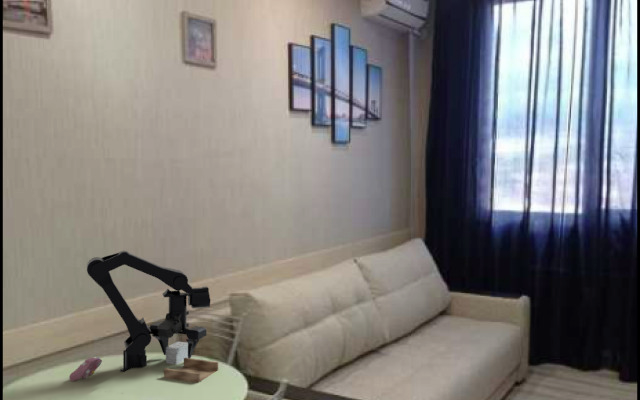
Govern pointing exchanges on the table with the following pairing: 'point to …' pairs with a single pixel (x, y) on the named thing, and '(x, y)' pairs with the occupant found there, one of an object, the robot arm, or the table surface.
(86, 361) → the pink elongated piece
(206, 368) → the brown wooden tray
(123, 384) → the table surface
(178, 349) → the metal block
